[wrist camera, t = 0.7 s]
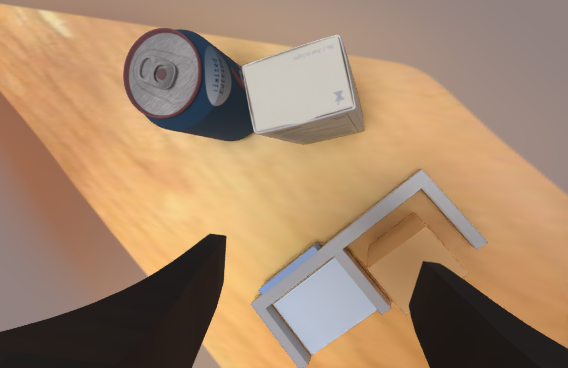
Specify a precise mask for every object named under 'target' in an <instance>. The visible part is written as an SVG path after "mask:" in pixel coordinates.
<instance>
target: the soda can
mask: <svg viewBox="0 0 568 368" xmlns="http://www.w3.org/2000/svg"><path fill="white" fill-rule="evenodd" d="M123 78H124V86H125V90H126V93H127V95H128V97H129V99H130V101H131V102H132V104H133V105H134V106H135V107H136V108H137V109H138V110H139V111H140V112H142V113H143V114H144V115H145V116H146V117H147V118H148V119H149V120H150V121H151V122H153V123H154V124H156V125H157V126H159V127H161V128H164V129H168V130H173V131H178V132H183V133H188V134H193V135H198V136H203V137H209V138H214V139H219V140H224V141H236V140H240V139H242V138H244V137H246V136H248V135H249V134H250V133H252V132H253V131H254V130H253V125H252V120H251V115H250V110H249V104H248V99H247V94H246V88H245V82H244V76H243V70H242V67H241V66H239V65H238V64H237V63H236V62H234V61H233V60H232V59H230V58H229V57H228V56H226V55H225V54H224V53H223V52H221V51H220V50H219V49H217V48H216V47H215V46H213V45H212V44H211V43H210V42H208V41H207V40H206V39H204V38H203V37H202V36H200V35H198V34H197V33H194V32H192V31H188V30H174V29H169V28H158V29H154V30H151V31H149V32H147V33H145V34H144V35H142V36H141V37H140V38H139V39H138V40H137V41H136V42H135V43H134V44H133V46H132V47H131V49H130V51H129V53H128V55H127V58H126V61H125V65H124V73H123Z"/></svg>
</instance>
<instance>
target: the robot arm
mask: <svg viewBox="0 0 568 368" xmlns="http://www.w3.org/2000/svg"><path fill="white" fill-rule="evenodd" d="M225 251H226V236H224V235H216V234H209V235H208V236H206V237H205V238H203V239H202V240H201V241H199V242H198V243H197V244H196V245H194V246H193V247H192V248H190V249H189V250H188V251H186V252H185V253H184V254H182V255H181V256H180V257H178V258H177V259H175V260H174V261H173V262H171V263H170V264H168V265H166V266H165V267H163V268H162V269H160V270H159V271H157V272H156V273H154V274H152V275H151V276H149V277H147V278H145V279H144V280H142V281H140V282H138V283H136V284H134V285H132V286H130V287H128V288H126V289H124V290H122V291H120V292H118V293H115V294H113V295H111V296H109V297H106V298H104V299H101V300H99V301H97V302H95V303H92V304H89V305H87V306H84V307H82V308H79V309H76V310H73V311H70V312H68V313H64V314H61V315H58V316H55V317H52V318H49V319H46V320H42V321H39V322H35V323H31V324H28V325H24V326H21V327H17V328H13V329H10V330H6V331H2V332H0V368H192V366H193V363H194V361H195V358H196V356H197V354H198V351H199V349H200V346H201V344H202V342H203V339H204V337H205V334H206V332H207V330H208V327H209V325H210V322H211V320H212V317H213V315H214V312H215V310H216V307H217V304H218V301H219V297H220V294H221V290H222V286H223V283H224V268H225ZM409 310H410V314H411V318H412V322H413V325H414V329H415V332H416V335H417V337H418V340H419V342H420V345H421V347H422V350H423V352H424V355H425V357H426V359H427V362H428V364H429V366H430V368H568V349H567V348H566V347H564V346H562V345H560V344H559V343H557V342H555V341H554V340H552V339H550V338H549V337H547V336H545V335H544V334H542V333H540V332H539V331H537V330H535V329H534V328H532V327H531V326H529V325H527V324H526V323H524V322H523V321H521V320H520V319H518V318H517V317H515V316H514V315H512V314H511V313H509V312H508V311H506V310H505V309H504V308H502V307H501V306H499V305H498V304H497V303H495V302H494V301H492V300H491V299H490V298H488V297H487V296H485V295H484V294H483V293H481V292H480V291H479V290H477V289H476V288H475V287H473V286H472V285H470V284H469V283H468V282H466V281H465V280H464V279H462V278H461V277H460V276H458V275H457V274H455V273H454V272H453V271H451V270H450V269H448V268H447V267H445V266H444V265H442V264H440V263H434V262H427V261H423V262H422V265H421V269H420V272H419V275H418V278H417V281H416V284H415V287H414V290H413V293H412V296H411V299H410V303H409Z"/></svg>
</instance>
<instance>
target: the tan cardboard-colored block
mask: <svg viewBox="0 0 568 368" xmlns="http://www.w3.org/2000/svg"><path fill="white" fill-rule="evenodd" d="M423 261H427V262H434V263H440V264H442V265H444V266H445V267H447V268H448V269H450V270H451V271H453V272H454V273H455V274H457V275H458V276H460V277H461V278H463V277H465V276H466V275H468V274H469V273H468V272H467V271H466V270H465V269H464V268H463V267H462V266H461V264H460V263H459V262H458V261H457V260H456V259H455V258H454V256H453V255H452V254H451V253H450V252H449V251H448V250H447V248H446V247H445V246H444V245H443V244H442V243H441V242H440V241H439V239H438V238H437V237H436V236H435V235H434V234H433V233H432V231H431V230H430V229H429V228H428V227H427V226H426V225H425V224H424V223H423V222H422V220H421V219H420V218H419V217H418V216H417V215H416V214H415V213H414V212H413V213H412V214H411V215H409V216H408V217H407V218H405V219H404V220H403V221H401V222H400V223H399V224H397V225H396V226H395V227H393V228H392V229H391V230H389V231H388V232H387V233H385V234H384V235H383V236H381V237H380V238H379V239H377V240H376V241H375V242H374V243H372V244H371V245H370V246H369V249H368V267H367V269H368V271H369V272H370V273H371V274H372V275H373V277H374V278H375V279H376V280H377V281H378V283H379V284H380V285H381V286H382V287H383V289H384V290H385V291H386V292H387V293H388V295H389V296H390V297H391V298H392V300H393V301H394V302H395V303H396V304H397V306H398V307H399V308H400V309H401V310H402V312H403V313H404V314H405V315H408V314H409V313H410V310H409V303H410V299H411V296H412V293H413V290H414V287H415V284H416V281H417V278H418V275H419V272H420V269H421V265H422V262H423Z"/></svg>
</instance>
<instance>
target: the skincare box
mask: <svg viewBox="0 0 568 368" xmlns="http://www.w3.org/2000/svg"><path fill="white" fill-rule="evenodd" d="M242 70H243V76H244V82H245V88H246V94H247V99H248V104H249V110H250V115H251V120H252V125H253V130H254V132H255V133H256V134H259V135H263V136H267V137H272V138H276V139H280V140H285V141H289V142H293V143H298V144H302V145H304V144H309V143H314V142H319V141H323V140H328V139H332V138H337V137H341V136H345V135H350V134H353V133H357V132H361V131H364V130H365V129H364V123H363V117H362V112H361V106H360V102H359V97H358V93H357V88H356V85H355V81H354V78H353V74H352V71H351V67H350V64H349V60H348V57H347V54H346V51H345V48H344V45H343V42H342V39H341V36H340V35H334V36H330V37H326V38H324V39H319V40H316V41H314V42H310V43H307V44H304V45H301V46H297V47H294V48H291V49H289V50H286V51H283V52H280V53H277V54H274V55H271V56H268V57H265V58H263V59H259V60H257V61H254V62H251V63H248V64H246V65H244V66H243V67H242Z"/></svg>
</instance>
